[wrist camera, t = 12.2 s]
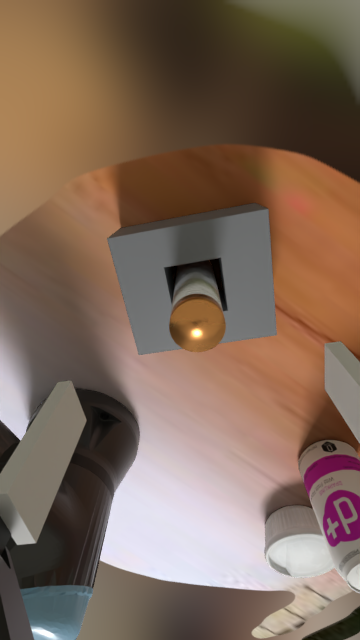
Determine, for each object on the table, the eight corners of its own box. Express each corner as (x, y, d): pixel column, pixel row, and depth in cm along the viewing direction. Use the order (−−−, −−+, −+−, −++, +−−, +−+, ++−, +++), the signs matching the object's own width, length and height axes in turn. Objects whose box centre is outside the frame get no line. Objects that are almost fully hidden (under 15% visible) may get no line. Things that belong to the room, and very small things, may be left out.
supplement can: (285, 454, 46) (325, 572, 33) (337, 427, 44) (403, 541, 30) (314, 485, 49) (363, 607, 35) (365, 461, 46) (438, 581, 33)
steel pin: (180, 291, 36) (174, 355, 24) (173, 257, 35) (163, 305, 22) (215, 286, 36) (228, 347, 23) (210, 251, 34) (221, 296, 22)
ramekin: (245, 520, 53) (250, 555, 48) (301, 489, 49) (313, 523, 44) (286, 551, 56) (295, 587, 51) (342, 524, 52) (357, 559, 48)
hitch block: (146, 329, 38) (138, 355, 33) (120, 228, 34) (107, 238, 28) (264, 311, 37) (276, 335, 32) (255, 202, 32) (268, 208, 27)
